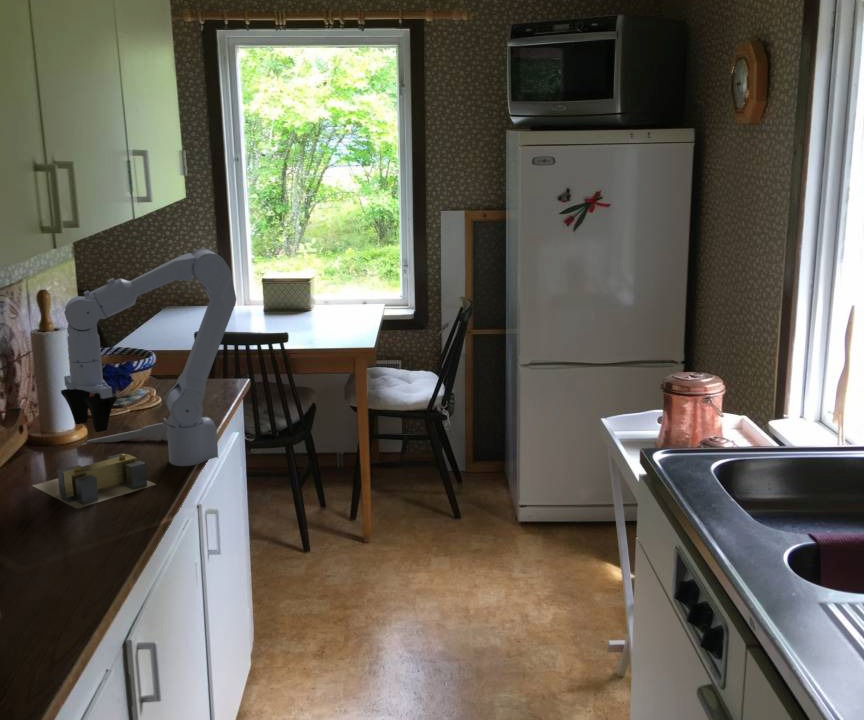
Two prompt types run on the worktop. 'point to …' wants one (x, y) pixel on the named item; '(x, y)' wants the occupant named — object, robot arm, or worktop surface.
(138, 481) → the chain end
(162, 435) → the caliper
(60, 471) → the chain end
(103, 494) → the jig board
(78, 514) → the worktop surface
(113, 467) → the master link
